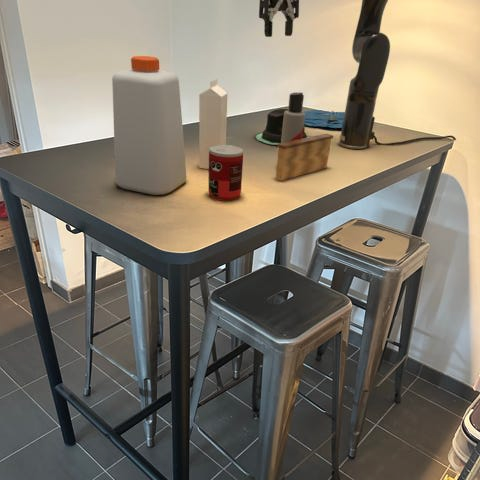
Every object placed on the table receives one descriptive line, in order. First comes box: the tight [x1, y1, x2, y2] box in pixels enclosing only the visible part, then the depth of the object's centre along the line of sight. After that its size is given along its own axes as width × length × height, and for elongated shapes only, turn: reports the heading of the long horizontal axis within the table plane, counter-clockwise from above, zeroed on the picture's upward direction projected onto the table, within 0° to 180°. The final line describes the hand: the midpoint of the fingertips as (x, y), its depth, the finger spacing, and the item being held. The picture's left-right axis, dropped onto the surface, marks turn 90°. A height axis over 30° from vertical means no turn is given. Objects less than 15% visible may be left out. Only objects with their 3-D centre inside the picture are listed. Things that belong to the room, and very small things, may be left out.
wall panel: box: [275, 133, 334, 182], centre depth 127 cm, size 21×3×9 cm, turn 133°
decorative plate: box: [302, 109, 345, 129], centre depth 183 cm, size 30×30×5 cm
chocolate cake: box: [255, 108, 309, 146], centre depth 157 cm, size 15×19×20 cm
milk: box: [198, 78, 228, 170], centre depth 124 cm, size 6×6×22 cm
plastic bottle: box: [111, 55, 188, 196], centre depth 108 cm, size 15×15×28 cm
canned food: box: [208, 144, 244, 202], centre depth 109 cm, size 8×8×11 cm
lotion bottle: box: [281, 91, 305, 143], centre depth 127 cm, size 6×6×20 cm
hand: (278, 36), depth 134 cm, fingers open, 8 cm apart
